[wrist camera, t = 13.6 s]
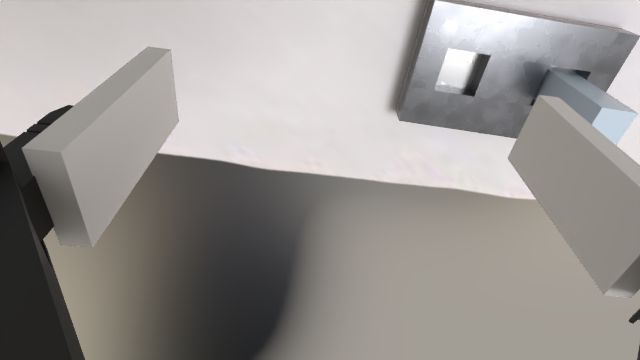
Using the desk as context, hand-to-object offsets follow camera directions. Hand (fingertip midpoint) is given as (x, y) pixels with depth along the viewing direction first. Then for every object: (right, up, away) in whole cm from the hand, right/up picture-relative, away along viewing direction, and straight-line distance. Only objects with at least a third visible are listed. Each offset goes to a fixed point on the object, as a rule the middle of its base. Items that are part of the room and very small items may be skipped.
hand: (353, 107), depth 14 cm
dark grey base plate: (+21, +11, +33) cm, 41 cm away
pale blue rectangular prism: (+27, +9, +33) cm, 43 cm away
